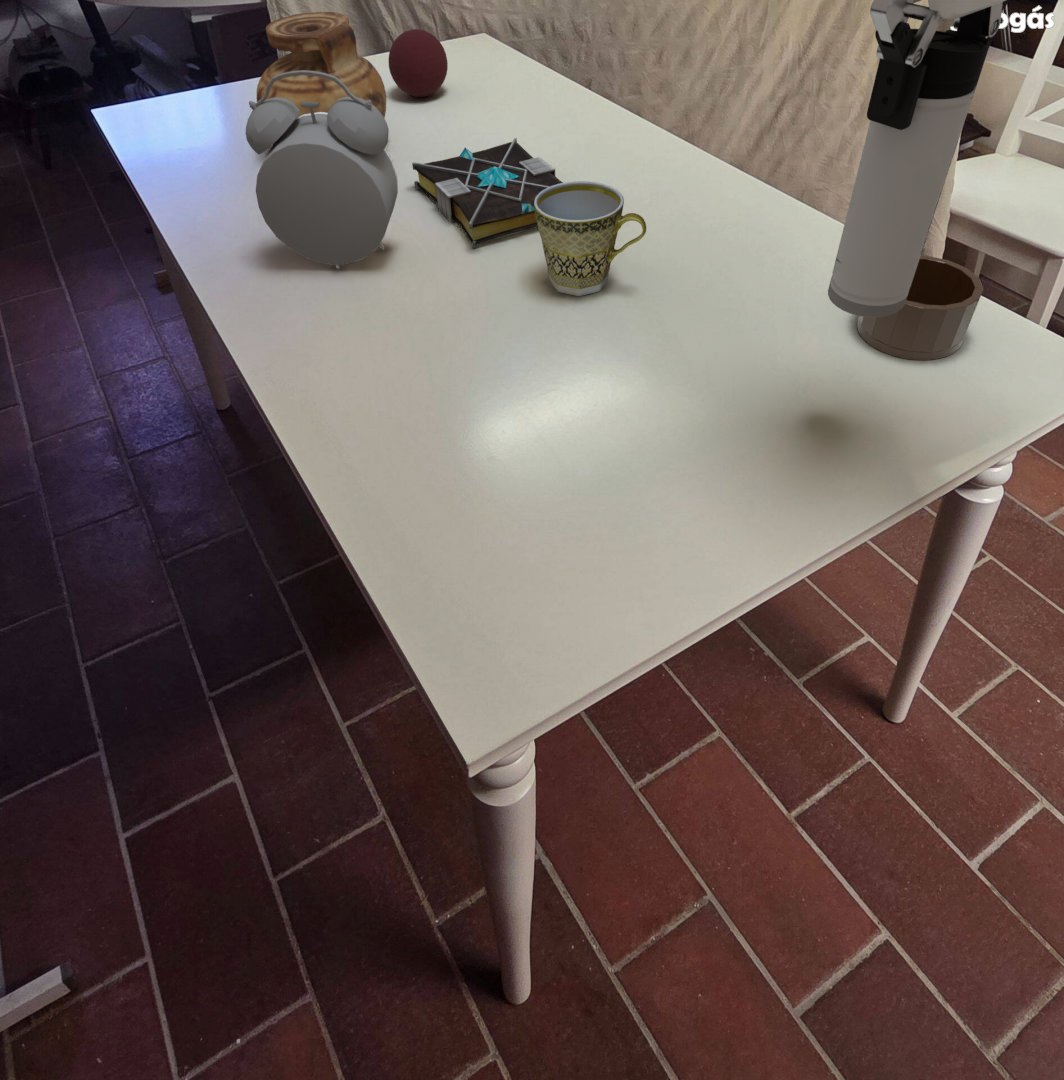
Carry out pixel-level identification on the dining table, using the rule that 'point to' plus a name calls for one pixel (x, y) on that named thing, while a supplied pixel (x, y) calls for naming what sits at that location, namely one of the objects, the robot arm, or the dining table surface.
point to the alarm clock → (324, 174)
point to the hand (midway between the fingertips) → (919, 107)
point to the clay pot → (319, 62)
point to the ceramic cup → (581, 233)
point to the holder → (927, 313)
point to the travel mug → (903, 184)
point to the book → (488, 189)
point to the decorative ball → (418, 63)
